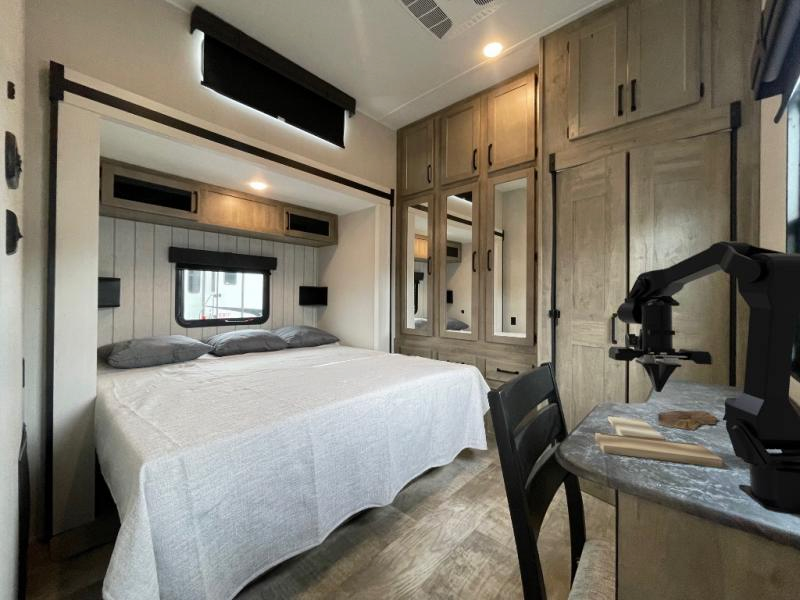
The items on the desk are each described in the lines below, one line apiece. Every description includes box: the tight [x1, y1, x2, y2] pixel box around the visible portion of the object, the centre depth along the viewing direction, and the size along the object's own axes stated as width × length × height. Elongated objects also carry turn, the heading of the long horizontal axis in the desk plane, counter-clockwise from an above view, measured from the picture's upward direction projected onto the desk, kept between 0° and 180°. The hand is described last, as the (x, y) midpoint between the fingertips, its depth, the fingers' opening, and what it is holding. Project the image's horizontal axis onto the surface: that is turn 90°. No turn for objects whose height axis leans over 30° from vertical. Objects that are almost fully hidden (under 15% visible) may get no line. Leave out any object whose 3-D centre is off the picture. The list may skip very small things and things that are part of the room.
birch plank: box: [607, 415, 667, 441], centre depth 80 cm, size 13×8×2 cm, turn 161°
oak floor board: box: [595, 432, 723, 468], centre depth 70 cm, size 7×20×2 cm, turn 71°
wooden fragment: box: [657, 410, 720, 432], centre depth 90 cm, size 26×11×1 cm, turn 115°
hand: (657, 391), depth 77 cm, fingers closed
